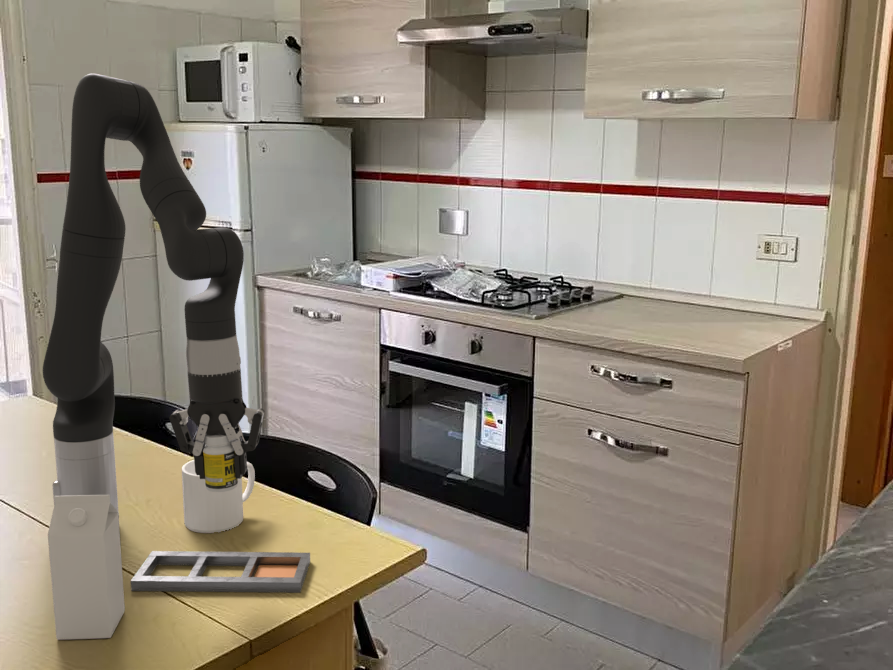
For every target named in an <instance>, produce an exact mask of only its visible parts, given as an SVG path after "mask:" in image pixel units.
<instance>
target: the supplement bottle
mask: <svg viewBox="0 0 893 670" xmlns="http://www.w3.org/2000/svg"><path fill="white" fill-rule="evenodd" d="M205 444H206V446H205V447H204V449H203V456H204V470H205V485H206V489H207V490H208V491H211V492H226V491H230V490H233V489H234V488H236V487H237V485H238V479H236V476H235V462H234V455H235V454H236V453H235V450H234V448H233V446H232V443H231V442H230V441H229V440H228V437H227V435H222V434H213V435H207V434H206V437H205Z"/></svg>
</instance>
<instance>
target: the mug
mask: <svg viewBox="0 0 893 670" xmlns="http://www.w3.org/2000/svg"><path fill="white" fill-rule="evenodd" d="M255 474H256V473H255V468H254V466H253V464H252V463H250V462H249V461H247V475H248V477H247V484H246V487H245V490H244V492H243V477H242V478H241V479H238V485H237V487H236V488H234V489H233V490H230V491H226V492H211V491H208V490H207V489H206V485H205V479H200V476H199V475H196V473H195V463H194V459H193V460H190V461H188V462H186V463H184V464H183V465H182V467H181V482H182V483H181V484H182V499H183V500H182V502H183V503H182V505H183V521H184V522H183V523H184V525H185V526H184V527H186V528H187V529H188V530H189V531H192V532H195V533H200V534H215V533H214V532H218V533H222V532H221V531H224V532H226V531H225V530H227V531H230V530H233V529H235V528H237V527H239V524H241V523H242V522H243V521H244V505H243V504H244V502H246V501H247V500H248V499H249V498H250V496H251V494H253V489H254V486H255V481H256V477H255V476H256V475H255ZM236 526H237V527H236ZM234 527H235V528H234ZM232 528H233V529H232ZM229 529H230V530H229Z"/></svg>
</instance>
